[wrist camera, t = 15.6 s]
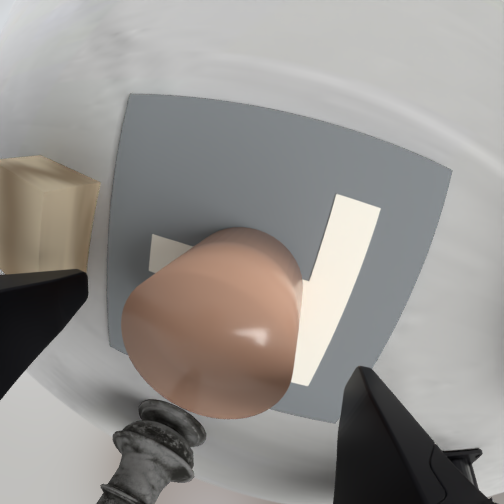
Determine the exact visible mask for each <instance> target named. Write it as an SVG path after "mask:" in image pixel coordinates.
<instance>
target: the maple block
mask: <svg viewBox="0 0 504 504" xmlns="http://www.w3.org/2000/svg"><path fill="white" fill-rule="evenodd" d="M100 184H101V182H98V181H96V180H94V179H92V178H90V177H87V176H85V175H83V174H81V173H79V172H76V171H74V170H72V169H70V168H68V167H65V166H63V165H61V164H59V163H57V162H54V161H52V160H50V159H48V158H46V157H43V156H41V155H37V156H26V157H16V158H7V159H0V269H1V270H2V271H3V272H4V273H5V274H18V273H30V272H43V271H55V270H67V269H79V270H81V271H84V272H85V273H86V272H87V262H88V254H89V246H90V239H91V232H92V226H93V220H94V214H95V209H96V203H97V198H98V193H99V189H100Z"/></svg>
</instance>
